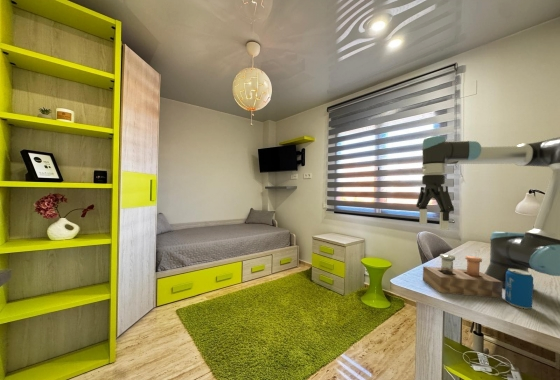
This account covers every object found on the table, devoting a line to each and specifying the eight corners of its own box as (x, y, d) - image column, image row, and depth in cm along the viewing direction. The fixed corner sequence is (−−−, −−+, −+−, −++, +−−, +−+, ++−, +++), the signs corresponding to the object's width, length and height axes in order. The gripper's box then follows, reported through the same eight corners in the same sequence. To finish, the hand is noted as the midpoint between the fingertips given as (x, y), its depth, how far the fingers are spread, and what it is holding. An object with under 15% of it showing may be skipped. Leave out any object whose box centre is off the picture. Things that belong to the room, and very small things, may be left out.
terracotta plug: (474, 273, 90) (475, 256, 90) (484, 278, 85) (485, 259, 85) (461, 272, 91) (462, 255, 91) (471, 277, 86) (471, 259, 86)
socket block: (476, 284, 93) (476, 270, 93) (501, 297, 81) (502, 282, 81) (422, 279, 95) (423, 266, 95) (440, 292, 83) (440, 277, 83)
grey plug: (449, 271, 91) (449, 254, 91) (457, 276, 86) (458, 258, 86) (436, 270, 92) (437, 253, 92) (444, 275, 87) (445, 257, 87)
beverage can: (499, 299, 80) (501, 267, 80) (517, 300, 79) (518, 268, 79) (518, 309, 73) (519, 274, 73) (538, 310, 73) (539, 275, 73)
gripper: (408, 176, 101) (407, 222, 100) (444, 171, 76) (443, 231, 76) (425, 177, 100) (424, 222, 100) (466, 172, 75) (466, 232, 75)
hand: (432, 226), depth 88 cm, fingers open, 13 cm apart
